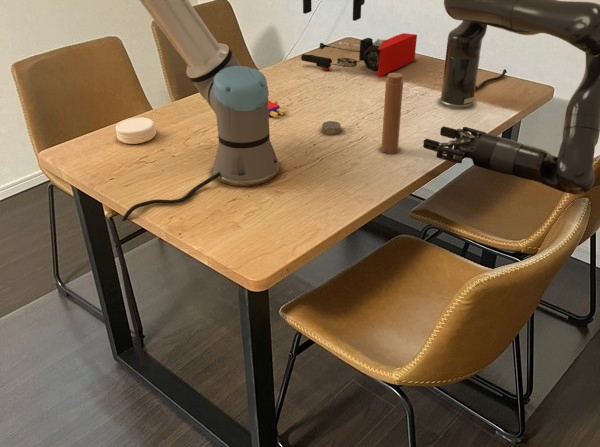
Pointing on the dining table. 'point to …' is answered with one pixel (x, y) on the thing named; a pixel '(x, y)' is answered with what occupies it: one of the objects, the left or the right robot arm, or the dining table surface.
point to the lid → (331, 127)
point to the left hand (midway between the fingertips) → (331, 15)
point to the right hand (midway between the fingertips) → (432, 136)
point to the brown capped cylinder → (392, 112)
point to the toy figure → (274, 109)
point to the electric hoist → (375, 54)
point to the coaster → (135, 130)
